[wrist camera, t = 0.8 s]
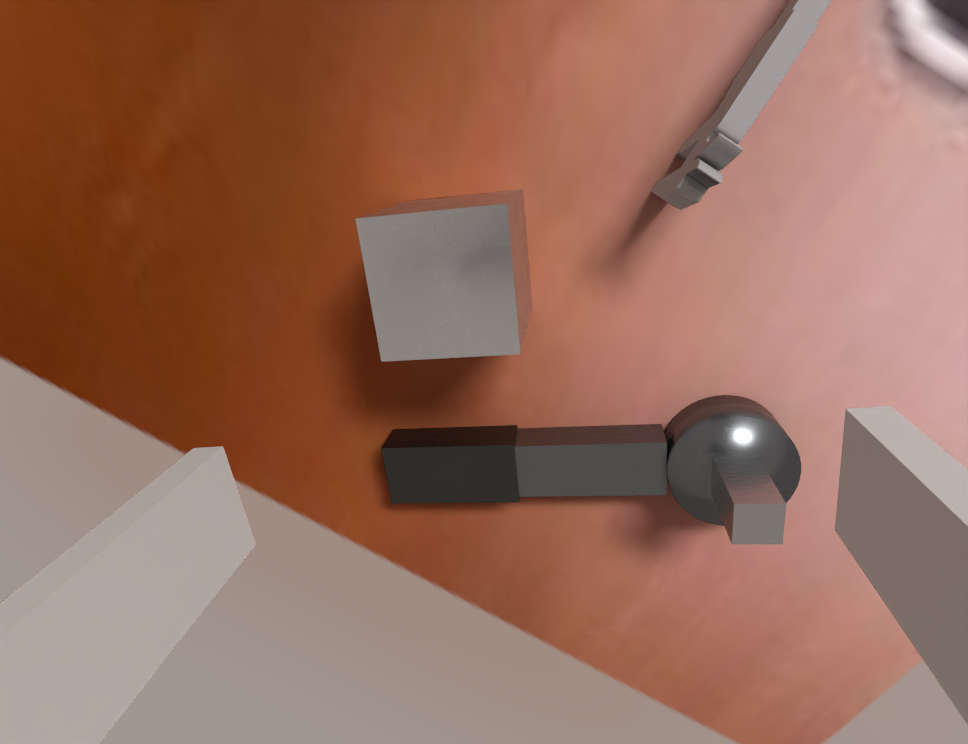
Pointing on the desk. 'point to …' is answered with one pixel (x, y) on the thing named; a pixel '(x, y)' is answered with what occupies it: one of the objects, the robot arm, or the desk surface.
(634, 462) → the ratchet
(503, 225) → the plain grey cube
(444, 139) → the desk surface
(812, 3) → the caliper
